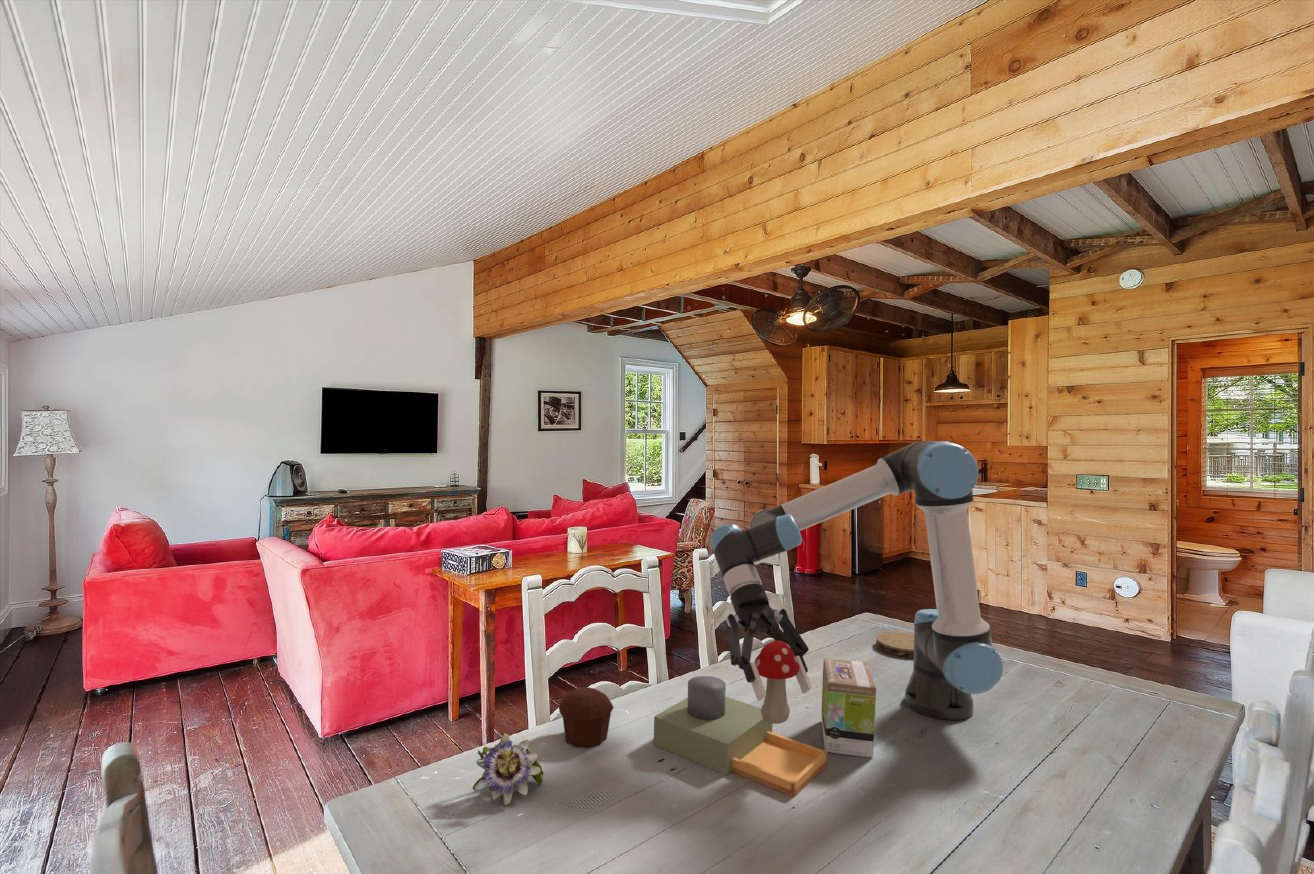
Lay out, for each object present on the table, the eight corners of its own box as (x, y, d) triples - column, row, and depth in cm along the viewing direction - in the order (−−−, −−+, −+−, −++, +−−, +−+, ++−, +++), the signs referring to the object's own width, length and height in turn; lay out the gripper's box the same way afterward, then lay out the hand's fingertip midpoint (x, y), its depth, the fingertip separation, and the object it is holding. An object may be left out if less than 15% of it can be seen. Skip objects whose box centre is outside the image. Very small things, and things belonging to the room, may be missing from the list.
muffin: (622, 732, 139) (623, 686, 139) (596, 756, 129) (597, 707, 129) (575, 720, 144) (576, 676, 144) (547, 743, 134) (548, 695, 134)
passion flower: (506, 833, 113) (469, 794, 108) (493, 790, 122) (459, 752, 118) (560, 788, 116) (526, 748, 111) (543, 750, 125) (511, 711, 120)
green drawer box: (830, 760, 129) (832, 701, 129) (790, 801, 115) (791, 735, 114) (702, 714, 148) (703, 663, 148) (653, 744, 134) (654, 687, 134)
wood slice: (881, 657, 188) (881, 647, 188) (872, 639, 203) (872, 629, 203) (938, 661, 185) (938, 651, 185) (925, 643, 201) (925, 633, 201)
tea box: (875, 759, 130) (877, 686, 130) (824, 753, 132) (825, 682, 132) (866, 725, 145) (868, 660, 144) (820, 720, 147) (822, 656, 146)
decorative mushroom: (766, 702, 133) (768, 630, 132) (805, 714, 128) (808, 639, 127) (743, 719, 125) (745, 643, 124) (784, 733, 120) (787, 653, 119)
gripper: (783, 595, 144) (824, 694, 130) (693, 604, 136) (726, 710, 121) (797, 578, 139) (841, 678, 125) (705, 585, 131) (741, 693, 116)
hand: (785, 693), depth 123 cm, fingers closed on decorative mushroom, 9 cm apart
